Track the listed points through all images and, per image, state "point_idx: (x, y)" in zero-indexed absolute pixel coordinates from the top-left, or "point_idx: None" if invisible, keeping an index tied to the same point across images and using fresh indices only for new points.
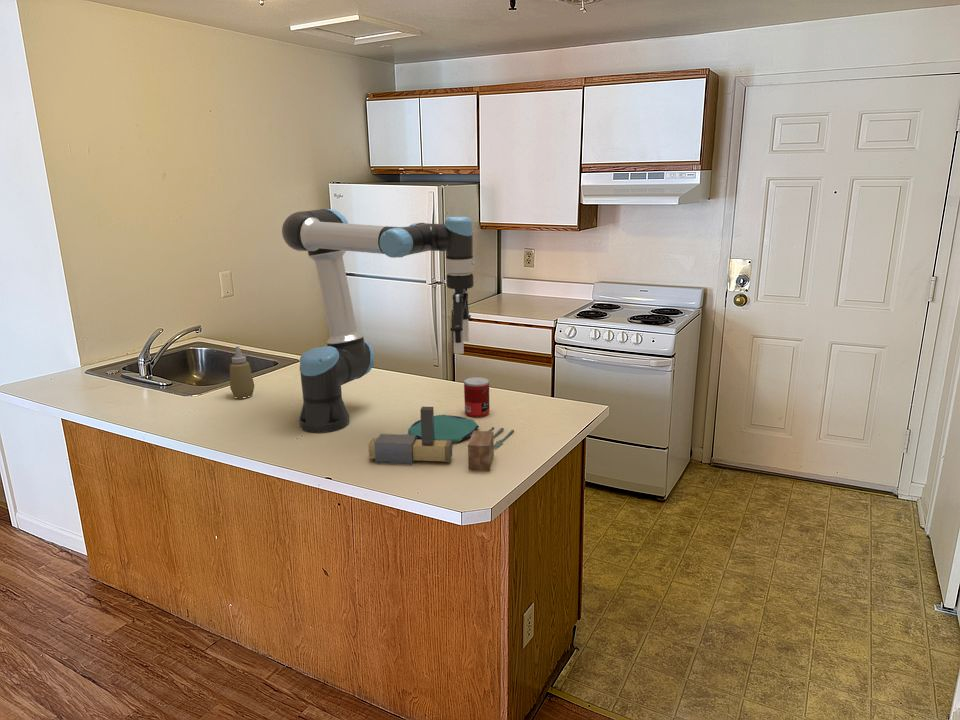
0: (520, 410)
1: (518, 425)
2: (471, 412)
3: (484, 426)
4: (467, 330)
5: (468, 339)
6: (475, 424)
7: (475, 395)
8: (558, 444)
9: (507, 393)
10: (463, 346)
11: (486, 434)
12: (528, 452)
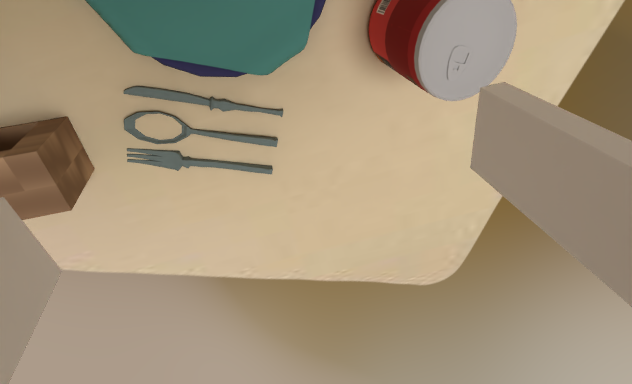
0: (429, 142)
1: (322, 167)
2: (374, 16)
3: (297, 80)
4: (547, 223)
5: (482, 175)
6: (265, 65)
7: (397, 47)
8: (228, 270)
9: (567, 70)
10: (21, 331)
11: (30, 200)
12: (156, 233)
